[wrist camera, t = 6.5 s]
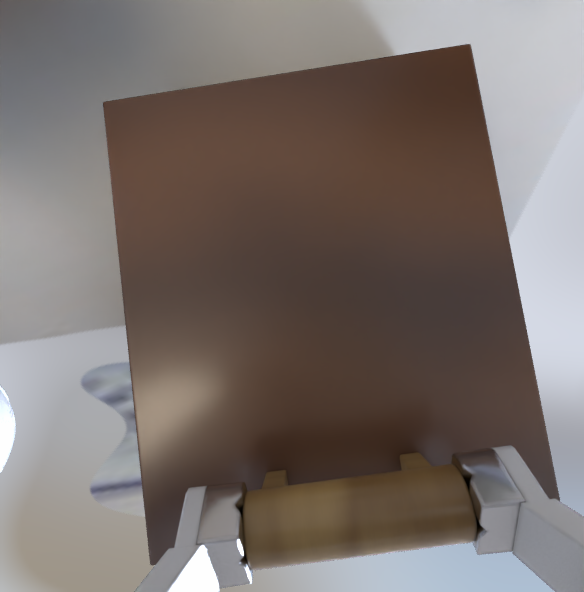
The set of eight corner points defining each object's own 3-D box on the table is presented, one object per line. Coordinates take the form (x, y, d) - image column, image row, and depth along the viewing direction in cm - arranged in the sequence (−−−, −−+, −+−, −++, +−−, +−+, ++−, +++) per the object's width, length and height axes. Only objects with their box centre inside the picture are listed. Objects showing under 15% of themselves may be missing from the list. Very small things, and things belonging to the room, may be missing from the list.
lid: (549, 503, 15) (679, 594, 9) (157, 554, 15) (80, 668, 10) (463, 56, 16) (534, -71, 11) (111, 112, 16) (24, 13, 11)
